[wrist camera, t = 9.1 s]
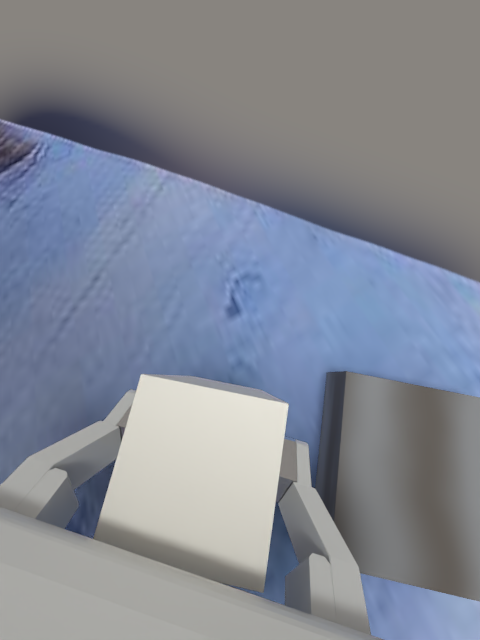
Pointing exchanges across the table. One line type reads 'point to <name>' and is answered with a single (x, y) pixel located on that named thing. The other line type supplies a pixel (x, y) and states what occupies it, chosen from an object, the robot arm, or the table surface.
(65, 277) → the table surface
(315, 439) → the table surface
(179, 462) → the off-white block
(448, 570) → the grey square slab
